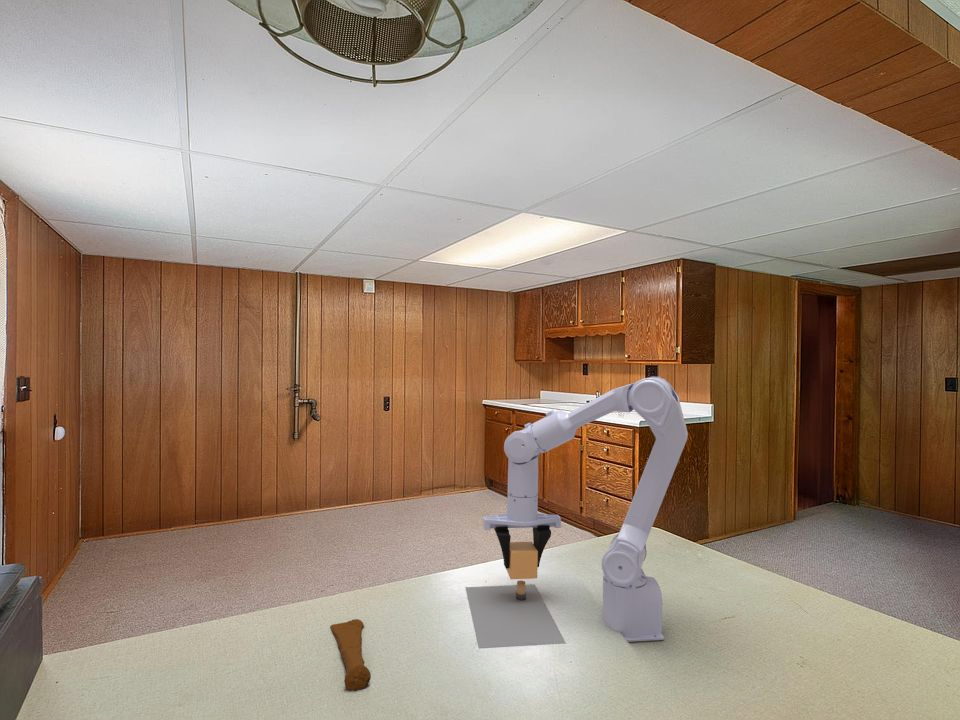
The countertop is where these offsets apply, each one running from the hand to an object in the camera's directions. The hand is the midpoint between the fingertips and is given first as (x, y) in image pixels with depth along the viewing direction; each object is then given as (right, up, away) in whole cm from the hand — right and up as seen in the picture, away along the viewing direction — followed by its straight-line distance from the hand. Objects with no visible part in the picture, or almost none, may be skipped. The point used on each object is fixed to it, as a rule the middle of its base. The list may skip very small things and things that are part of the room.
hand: (521, 565), depth 95 cm
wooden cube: (0, -1, 0) cm, 1 cm away
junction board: (-2, -8, -5) cm, 10 cm away
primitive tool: (-28, -8, -16) cm, 33 cm away
